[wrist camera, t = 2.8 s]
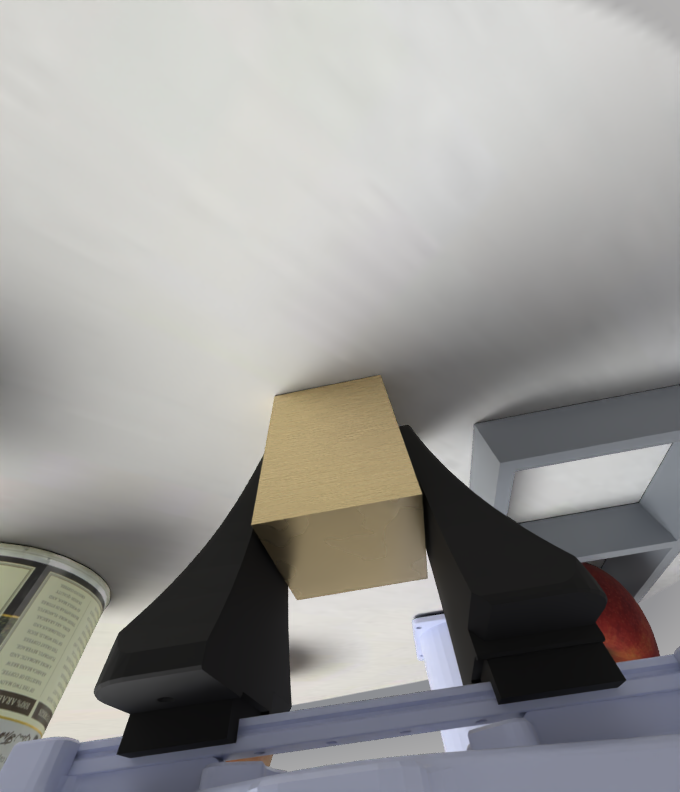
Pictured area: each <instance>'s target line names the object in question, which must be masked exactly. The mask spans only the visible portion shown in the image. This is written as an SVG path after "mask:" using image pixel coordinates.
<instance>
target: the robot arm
mask: <svg viewBox="0 0 680 792" xmlns="http://www.w3.org/2000/svg"><path fill="white" fill-rule="evenodd" d="M399 429H400V432H401V435H402V438H403V441H404V444H405V446H406V449H407V452H408V455H409V458H410V461H411V464H412V467H413V469H414V472H415V475H416V478H417V481H418V484H419V487H420V489H421V492H422V500H423V515H424V530H425V546H426V550H427V554H428V557H429V561H430V564H431V568H432V571H433V575H434V578H435V582H436V586H437V589H438V593H439V597H440V600H441V604H442V608H443V611H444V614H439V615H433V616H427V617H421V618H415V619H413V620H412V626H413V633H414V639H415V646H416V653H417V658H418V660H420V661H423V660H424V662H425V666H426V671H427V675H428V679H429V683H430V688H431V690H430V691H423V692H417V693H411V694H403V695H397V696H390V697H384V698H376V699H370V700H363V701H356V702H350V703H343V704H336V705H329V706H323V707H316V708H309V709H302V710H296V711H290V709H291V707H292V704H291V686H290V665H289V633H288V585H287V583H286V581H285V580H284V578H283V576H282V575H281V573H280V571H279V570H278V568H277V567H276V565H275V563H274V562H273V560H272V558H271V557H270V555H269V553H268V552H267V550H266V549H265V547H264V545H263V544H262V542H261V540H260V539H259V537H258V535H257V534H256V532H255V531H254V529H253V527H252V526H251V523H252V518H253V512H254V507H255V501H256V496H257V490H258V485H259V479H260V474H261V468H262V463H263V458H264V455H263V457H262V459H261V460H260V462H259V464H258V466H257V468H256V470H255V471H254V473H253V475H252V477H251V479H250V480H249V482H248V484H247V485H246V487H245V489H244V490H243V492H242V494H241V495H240V497H239V499H238V500H237V502H236V503H235V505H234V507H233V508H232V510H231V511H230V513H229V514H228V516H227V517H226V519H225V520H224V521H223V523H222V524H221V526H220V527H219V528H218V530H217V531H216V533H215V534H214V535H213V536H212V538H211V539H210V540H209V542H208V543H207V544H206V545H205V547H204V548H203V549H202V550H201V551H200V553H199V554H198V555H197V556H196V557H195V558H194V559H193V561H192V562H191V563H190V564H189V565H188V566H187V568H186V569H185V570H184V571H183V572H182V573H181V574H180V575H179V576H178V577H177V578H176V579H175V580H174V581H173V582H172V584H171V585H170V586H169V587H168V588H167V589H166V590H165V591H164V592H163V593H162V594H161V595H160V596H159V597H158V598H156V599H155V600H154V601H153V602H152V603H151V604H150V605H149V606H148V607H147V608H146V609H145V610H144V611H143V612H141V613H140V614H139V615H138V616H137V617H136V618H135V619H134V620H133V621H132V622H130V623H129V624H128V625H127V626H126V627H125V628H124V629H123V630H122V631H120V632H119V634H118V636H117V638H116V640H115V642H114V645H113V647H112V649H111V651H110V654H109V656H108V658H107V661H106V663H105V665H104V668H103V670H102V672H101V675H100V677H99V679H98V682H97V684H96V686H95V689H94V694H95V697H96V698H97V699H98V700H99V701H101V702H103V703H104V704H107V705H109V706H112V707H114V708H117V709H119V710H122V711H124V712H126V713H129V714H130V717H129V719H128V722H127V725H126V728H125V731H124V734H123V736H121V737H115V738H108V739H101V740H94V741H88V742H81V743H80V742H79V741H78V740H76V739H73V738H68V737H50V738H43V739H36V740H30V741H23V742H18V743H17V744H16V745H14V747H13V748H12V750H11V752H10V754H9V756H8V758H7V760H6V762H5V763H4V765H3V767H2V769H1V771H0V792H680V647H678V648H677V649H676V650H675V652H674V654H672V655H665V656H658V657H652V658H645V659H638V660H631V661H625V662H618V663H615V661H614V659H613V658H612V656H611V655H610V653H609V651H608V650H607V648H606V647H605V645H604V644H603V642H604V641H605V640H606V639H605V636H604V634H603V633H602V631H601V630H600V628H599V627H598V625H597V624H596V621H597V619H598V618H599V616H600V615H601V613H602V612H603V610H604V609H605V607H606V604H607V600H608V599H607V596H606V594H605V592H604V591H603V589H602V588H601V587H600V585H599V584H598V582H597V581H596V580H595V578H594V577H593V576H592V575H591V574H590V573H589V571H588V570H587V569H586V568H585V567H584V566H583V564H582V563H581V562H580V561H579V560H578V559H577V558H576V557H575V556H574V555H572V554H570V553H568V552H566V551H564V550H562V549H561V548H559V547H557V546H555V545H553V544H551V543H550V542H548V541H546V540H544V539H543V538H541V537H539V536H537V535H536V534H534V533H532V532H531V531H529V530H528V529H526V528H524V527H523V526H521V525H519V524H518V523H516V522H515V521H513V520H512V519H511V518H509V517H508V516H506V515H505V514H503V513H502V512H500V511H499V510H497V509H496V508H494V507H493V506H491V505H490V504H489V503H487V502H486V501H485V500H483V499H482V498H481V497H479V496H478V495H477V494H476V493H474V492H473V491H472V490H471V489H469V488H468V487H467V486H466V485H465V484H464V483H462V482H461V481H460V480H459V479H458V478H457V477H456V476H455V475H453V474H452V473H451V472H450V471H449V470H448V469H447V468H446V467H445V466H444V465H443V464H442V463H441V462H440V461H439V460H438V459H437V458H436V457H435V456H434V455H433V454H432V453H431V451H430V450H429V449H428V448H427V447H426V446H425V445H424V444H423V442H422V441H421V440H420V439H419V437H418V436H417V435H416V434H415V432H414V431H413V430H412V428H411V427H410V426H409V425H405V426H400V427H399ZM433 731H441V735H442V740H443V744H444V748H445V752H443V753H431V754H418V755H407V756H396V757H387V758H378V759H369V760H360V761H354V762H346V763H339V764H332V765H326V766H320V767H314V768H307V769H301V770H296V771H291V772H287V771H285V770H279V769H273V768H271V767H268V766H265V764H264V763H263V762H262V761H240V762H225V761H230V760H237V759H244V758H251V757H258V756H265V755H272V754H278V753H285V752H293V751H300V750H307V749H314V748H321V747H328V746H335V745H342V744H349V743H357V742H363V741H371V740H378V739H384V738H392V737H398V736H405V735H413V734H420V733H427V732H433Z"/></svg>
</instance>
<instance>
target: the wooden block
mask: <svg viewBox="0 0 680 792" xmlns="http://www.w3.org/2000/svg"><path fill="white" fill-rule="evenodd" d="M251 526H252V527H253V529H254V531H255V532H256V534H257V535H258V537H259V539H260V540H261V542H262V544H263V545H264V547H265V549H266V550H267V552H268V553H269V555H270V557H271V558H272V560H273V562H274V563H275V565H276V567H277V568H278V570H279V571H280V573H281V575H282V576H283V578H284V580H285V581H286V583H287V585H288V586H289V588H290V589H291V591H292V593H293V594H294V596H295V598H296V599H297V600H301V599H307V598H313V597H319V596H325V595H331V594H337V593H343V592H349V591H355V590H361V589H367V588H373V587H379V586H385V585H391V584H397V583H403V582H409V581H415V580H421V579H427V578H428V576H427V561H426V546H425V530H424V515H423V500H422V492H421V489H420V487H419V484H418V481H417V478H416V475H415V472H414V469H413V467H412V464H411V461H410V458H409V455H408V452H407V449H406V446H405V444H404V441H403V438H402V435H401V432H400V429H399V426H398V424H397V421H396V418H395V415H394V412H393V409H392V406H391V404H390V401H389V398H388V395H387V392H386V389H385V386H384V383H383V381H382V378H381V375H377V376H372V377H367V378H362V379H357V380H352V381H347V382H342V383H337V384H332V385H327V386H322V387H317V388H312V389H307V390H303V391H298V392H293V393H288V394H283V395H278V396H275V397H274V403H273V408H272V414H271V419H270V425H269V430H268V436H267V441H266V447H265V452H264V458H263V463H262V468H261V474H260V479H259V485H258V490H257V496H256V501H255V507H254V512H253V518H252V523H251Z"/></svg>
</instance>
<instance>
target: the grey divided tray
mask: <svg viewBox="0 0 680 792" xmlns="http://www.w3.org/2000/svg"><path fill="white" fill-rule="evenodd" d="M669 443H673V444H672V446H671V447H670V449H669V451H668V453H667V454H666V456H665V458H664V460H663V461H662V463H661V465H660V467H659V468H658V470H657V472H656V474H655V475H654V477H653V479H652V481H651V482H650V484H649V486H648V488H647V489H646V491H645V493H644V495H643V496H642V498H641V500H640V502H639V503H635V504H629V505H624V506H618V507H612V508H606V509H600V510H595V511H589V512H583V513H577V514H572V515H566V516H560V517H554V518H549V519H543V520H537V521H531V522H526V523H520V524H519V525H521V526H523V527H524V528H526V529H528V530H529V531H531V532H532V533H534V534H536V535H537V536H539V537H541V538H543V539H544V540H546V541H548V542H550V543H551V544H553V545H555V546H557V547H559V548H561V549H562V550H564V551H566V552H568V553H570V554H572V555H574V556H575V557H576V558H577V559H578V560H579V561H580V562H581V563H582V562H588V561H594V560H600V559H606V558H607V559H606V561H605V563H604V565H603V566H602V568H601V569H602V570H603V571H605V572H607V573H608V574H610V575H611V576H612V577H614V578H615V579H616V580H617V581H618V582H619V583H621V584H622V585H623V587H624V588H625V589H626V590H627V591H628V592H629V593H630V594H631V595H632V597H633V598H634V599H635V601H636V602H637V603H639V602H640V600H641V599H642V598H643V597H644V596H645V594H646V593H647V592H648V591H649V589H650V588H651V587H652V586H653V584H654V583H655V582H656V581H657V579H658V578H659V577H660V576H661V575H662V573H663V572H664V571H665V570H666V568H667V567H668V566H669V565H670V563H671V562H672V561H673V560H674V558H675V557H676V556H677V555H678V553H679V552H680V385H676V386H671V387H666V388H661V389H655V390H650V391H645V392H640V393H634V394H629V395H624V396H619V397H613V398H608V399H603V400H598V401H592V402H587V403H582V404H577V405H571V406H566V407H561V408H556V409H550V410H545V411H540V412H535V413H530V414H524V415H519V416H514V417H509V418H503V419H498V420H493V421H488V422H482V423H477V424H474V432H473V447H472V461H471V475H470V489H471V490H472V491H473V492H474V493H476V494H477V495H478V496H479V497H481V498H482V499H483V500H485V501H486V502H487V503H489V504H490V505H491V506H493V507H494V508H496V509H497V510H499V511H500V512H502V513H503V514H505V515H506V516H507V513H508V507H509V502H510V497H511V492H512V486H513V481H514V476H515V471H521V470H526V469H532V468H537V467H543V466H548V465H554V464H559V463H565V462H570V461H576V460H581V459H587V458H592V457H598V456H603V455H609V454H614V453H620V452H625V451H631V450H636V449H642V448H647V447H653V446H658V445H664V444H669Z"/></svg>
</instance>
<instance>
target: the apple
mask: <svg viewBox="0 0 680 792" xmlns="http://www.w3.org/2000/svg"><path fill="white" fill-rule="evenodd" d="M582 564H583V566H584V567H585V568H586V569H587V570H588V571H589V573H590V574H591V575H592V576H593V577H594V578H595V580H596V581H597V582H598V584H599V585H600V587H601V588H602V589H603V591H604V592H605V594H606V596H607V599H608V600H607V604H606V607H605V609H604V610H603V612H602V613H601V615H600V616H599V618H598V619H597V621H596V624H597V625H598V627H599V628H600V630H601V631H602V633H603V634H604V636H605V639H606V640H605V641H604V642H603V644H604V645H605V647H606V648H607V650H608V651H609V653H610V655H611V656H612V658H613V659H614V661H615V663H618V662H625V661H631V660H638V659H645V658H652V657H658V656H660V655H659V650H658V647H657V643H656V640H655V637H654V634H653V632H652V629H651V627H650V625H649V623H648V621H647V619H646V617H645V615H644V613H643V611H642V610H641V608H640V607H639V605H638V603H637V602H636V601H635V599H634V598H633V597H632V595H631V594H630V593H629V592H628V591H627V590H626V589H625V588H624V587H623V585H622V584H621V583H619V582H618V581H617V580H616V579H615V578H614V577H612V576H611V575H610V574H608V573H607V572H605V571H603V570H602V569H600V568H598V567H596V566H594V565H591V564H588V563H586V562H582Z"/></svg>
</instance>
